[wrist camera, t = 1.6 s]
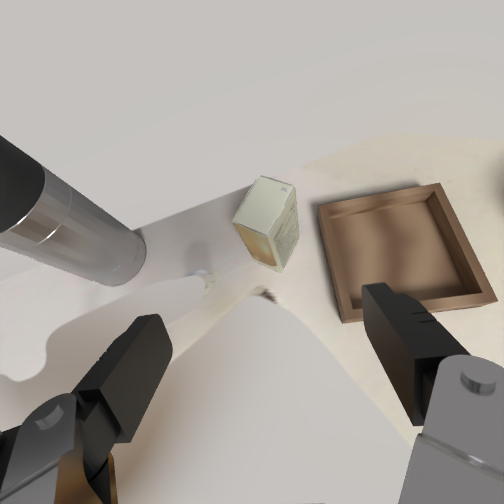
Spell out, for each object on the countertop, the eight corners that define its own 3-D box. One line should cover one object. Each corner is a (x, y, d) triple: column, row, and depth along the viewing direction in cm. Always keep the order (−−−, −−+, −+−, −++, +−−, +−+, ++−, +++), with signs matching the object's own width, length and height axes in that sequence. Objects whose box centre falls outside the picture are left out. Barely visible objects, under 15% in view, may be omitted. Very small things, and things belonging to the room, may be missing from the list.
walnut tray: (342, 323, 31) (345, 319, 28) (317, 217, 37) (318, 205, 34) (478, 307, 29) (498, 301, 26) (428, 197, 35) (440, 182, 32)
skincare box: (273, 226, 38) (259, 170, 27) (300, 236, 36) (297, 182, 25) (252, 263, 36) (229, 220, 25) (280, 275, 35) (268, 236, 23)
